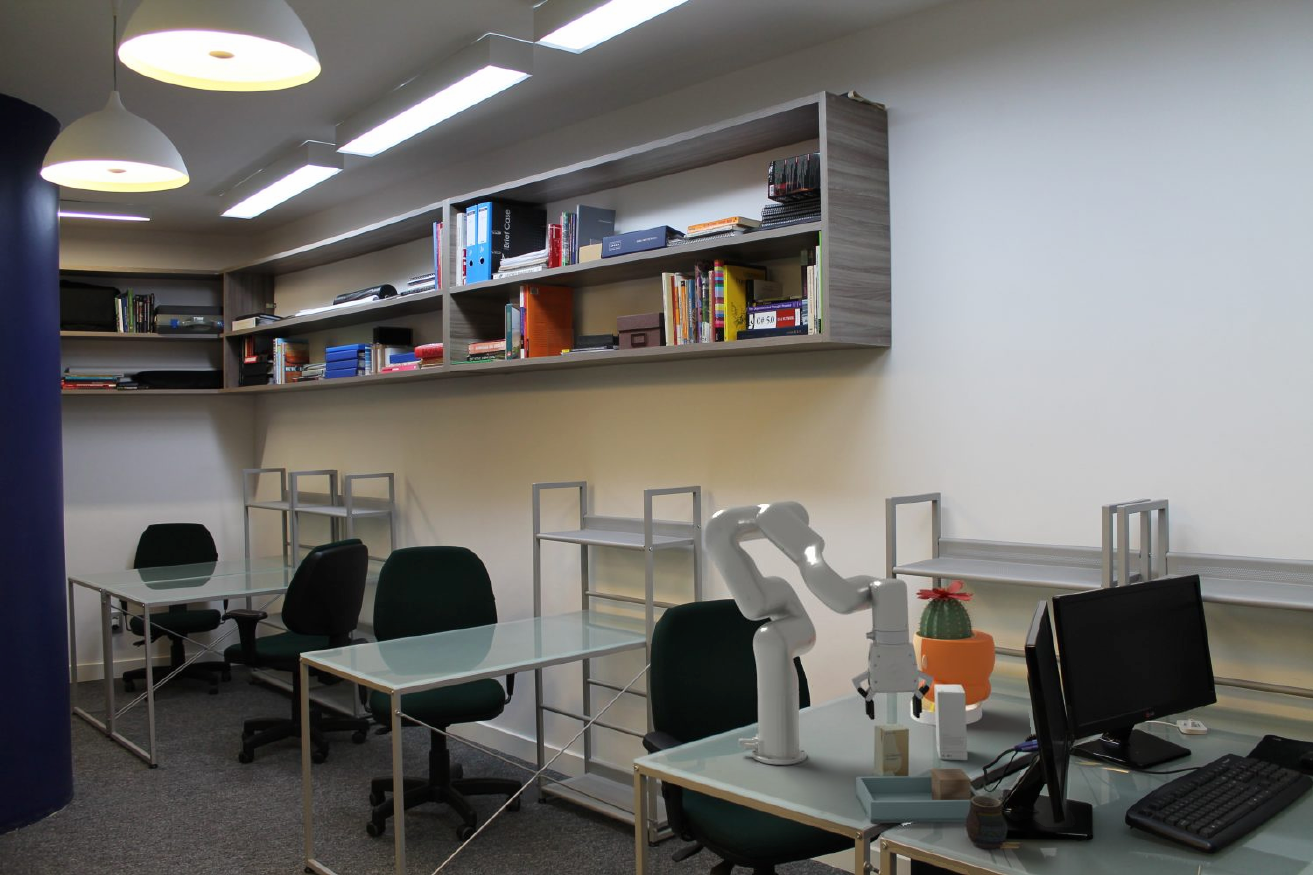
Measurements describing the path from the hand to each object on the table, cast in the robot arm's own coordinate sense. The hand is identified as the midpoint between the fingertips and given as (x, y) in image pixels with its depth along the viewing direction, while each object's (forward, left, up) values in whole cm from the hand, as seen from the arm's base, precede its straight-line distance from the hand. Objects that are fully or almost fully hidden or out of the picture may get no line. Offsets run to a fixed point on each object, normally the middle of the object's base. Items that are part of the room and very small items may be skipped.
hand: (893, 717), depth 207 cm
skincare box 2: (+17, +18, -15) cm, 29 cm away
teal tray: (+1, -14, -14) cm, 20 cm away
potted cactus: (+27, +48, -15) cm, 58 cm away
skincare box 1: (-1, 0, -15) cm, 15 cm away
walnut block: (+8, -14, -14) cm, 21 cm away
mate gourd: (+9, -31, -15) cm, 35 cm away
